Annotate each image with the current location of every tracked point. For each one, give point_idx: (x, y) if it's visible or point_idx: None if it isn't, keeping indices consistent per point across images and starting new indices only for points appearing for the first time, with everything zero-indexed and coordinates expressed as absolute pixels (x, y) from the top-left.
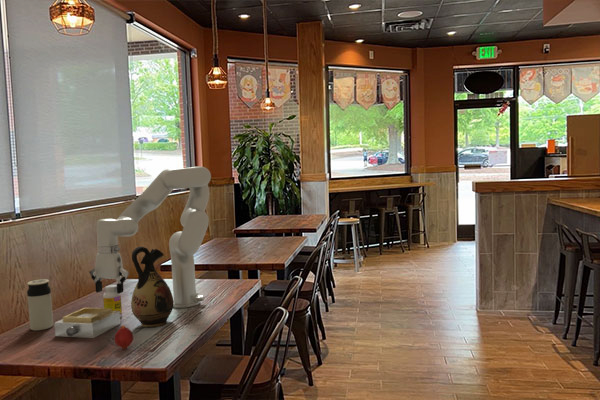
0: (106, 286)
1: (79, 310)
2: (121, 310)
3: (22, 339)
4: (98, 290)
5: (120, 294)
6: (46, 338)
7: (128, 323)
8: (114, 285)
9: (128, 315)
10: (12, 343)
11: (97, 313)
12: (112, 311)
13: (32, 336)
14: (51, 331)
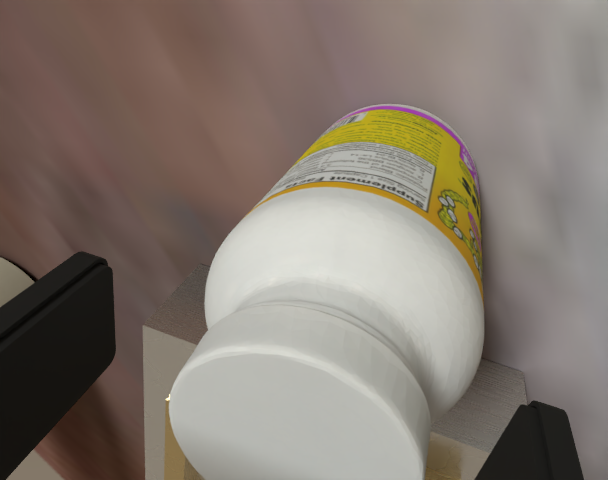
0: (193, 440)
1: (177, 459)
2: (479, 203)
3: (68, 439)
4: (98, 360)
5: (483, 321)
6: None
7: (601, 382)
8: (334, 423)
9: (548, 133)
10: (69, 468)
11: None
12: (458, 457)
13: (79, 418)
14: (113, 378)
